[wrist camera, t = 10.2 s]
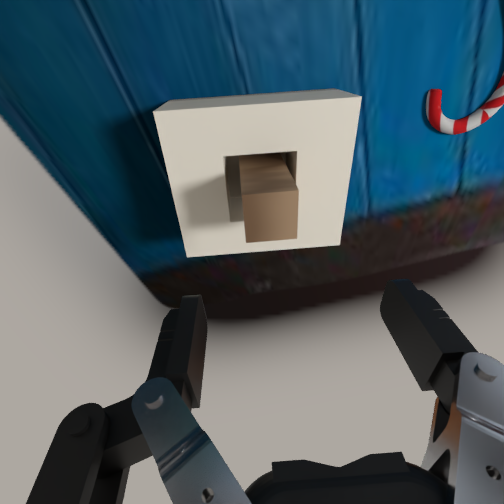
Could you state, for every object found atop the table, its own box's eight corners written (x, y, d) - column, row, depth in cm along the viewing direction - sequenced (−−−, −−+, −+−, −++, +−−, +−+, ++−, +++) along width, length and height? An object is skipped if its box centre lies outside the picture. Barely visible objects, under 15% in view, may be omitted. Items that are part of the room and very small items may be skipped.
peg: (277, 147, 25) (298, 190, 17) (277, 184, 27) (297, 238, 19) (238, 150, 25) (241, 195, 17) (241, 186, 27) (245, 243, 19)
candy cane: (564, -144, 17) (521, 113, 25) (544, -131, 18) (509, 111, 26) (429, -77, 18) (431, 147, 26) (418, -69, 19) (423, 143, 27)
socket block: (334, 88, 24) (361, 96, 19) (322, 214, 31) (339, 244, 26) (169, 100, 23) (153, 111, 19) (194, 224, 30) (187, 257, 25)
